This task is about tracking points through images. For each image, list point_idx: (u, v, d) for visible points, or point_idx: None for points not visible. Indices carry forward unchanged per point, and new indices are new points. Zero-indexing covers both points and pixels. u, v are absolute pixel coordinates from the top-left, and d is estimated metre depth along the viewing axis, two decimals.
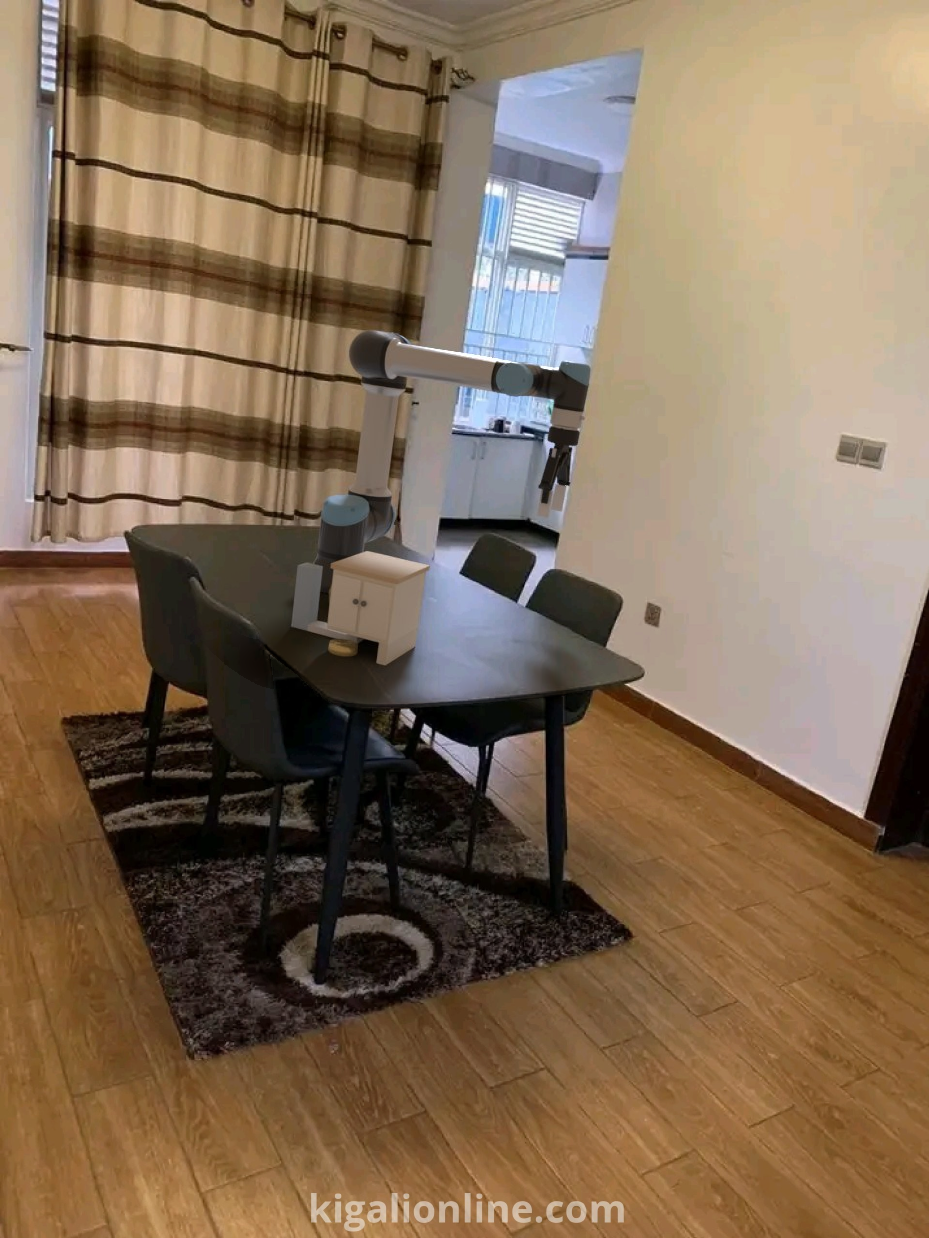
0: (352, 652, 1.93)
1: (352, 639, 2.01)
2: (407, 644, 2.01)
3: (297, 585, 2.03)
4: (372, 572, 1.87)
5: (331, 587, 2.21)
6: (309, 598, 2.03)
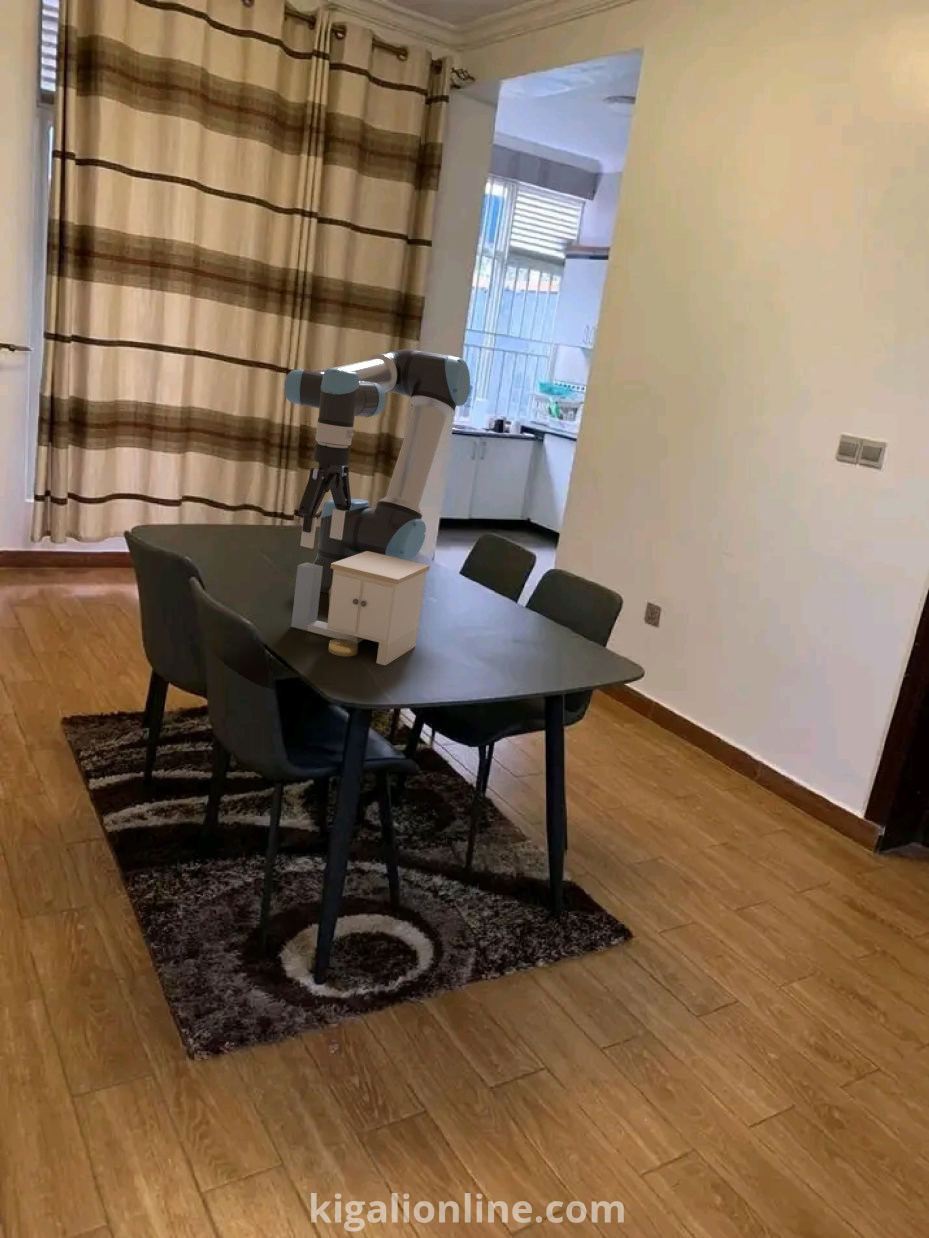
0: (352, 652, 1.93)
1: (352, 639, 2.01)
2: (407, 644, 2.01)
3: (297, 585, 2.03)
4: (372, 572, 1.87)
5: (331, 587, 2.21)
6: (309, 598, 2.03)
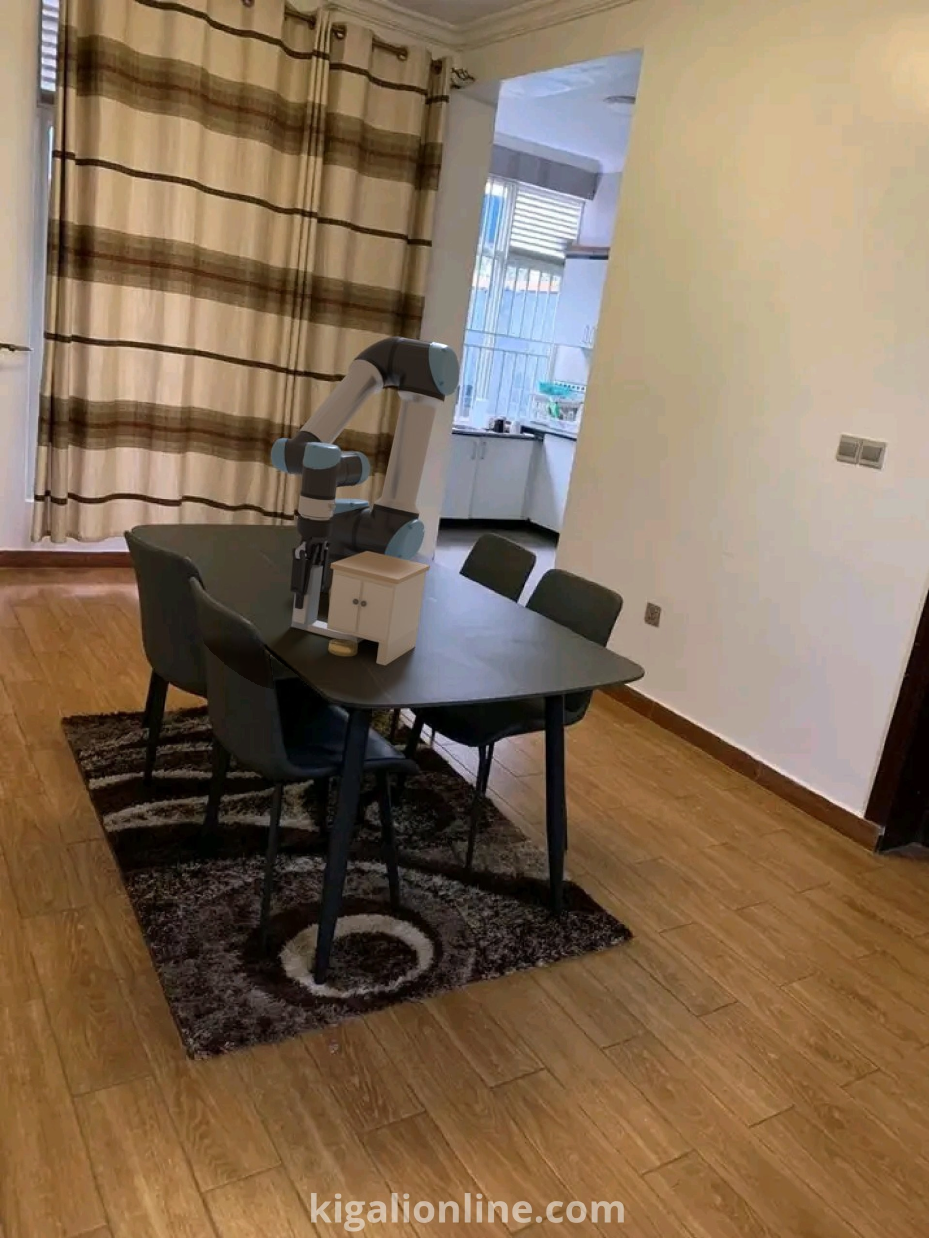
0: (352, 652, 1.93)
1: (352, 639, 2.01)
2: (407, 644, 2.01)
3: None
4: (372, 572, 1.87)
5: (331, 587, 2.21)
6: (309, 598, 2.03)
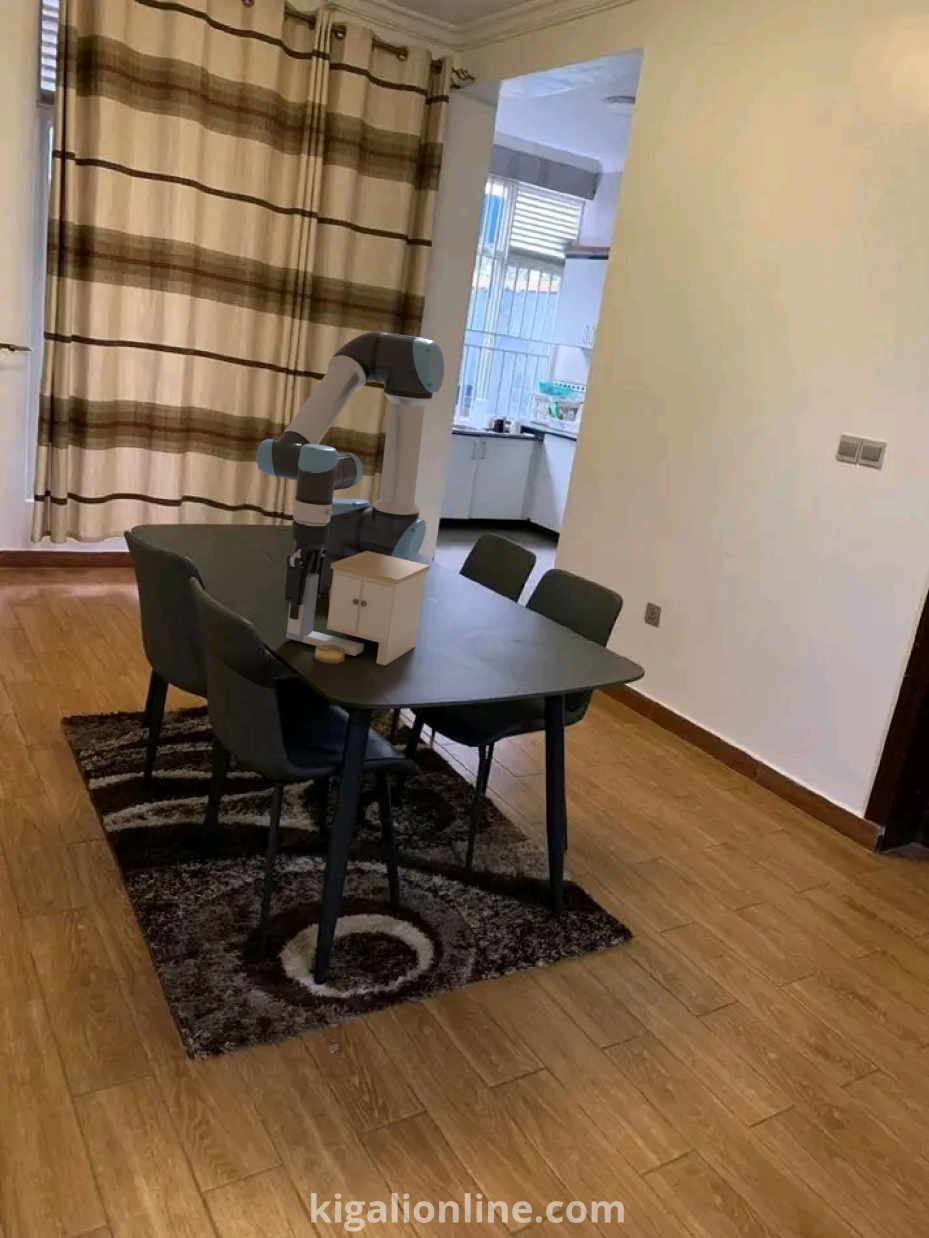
0: (339, 658, 1.88)
1: (350, 651, 1.91)
2: (407, 644, 2.01)
3: None
4: (372, 572, 1.87)
5: (331, 587, 2.21)
6: (305, 608, 1.93)
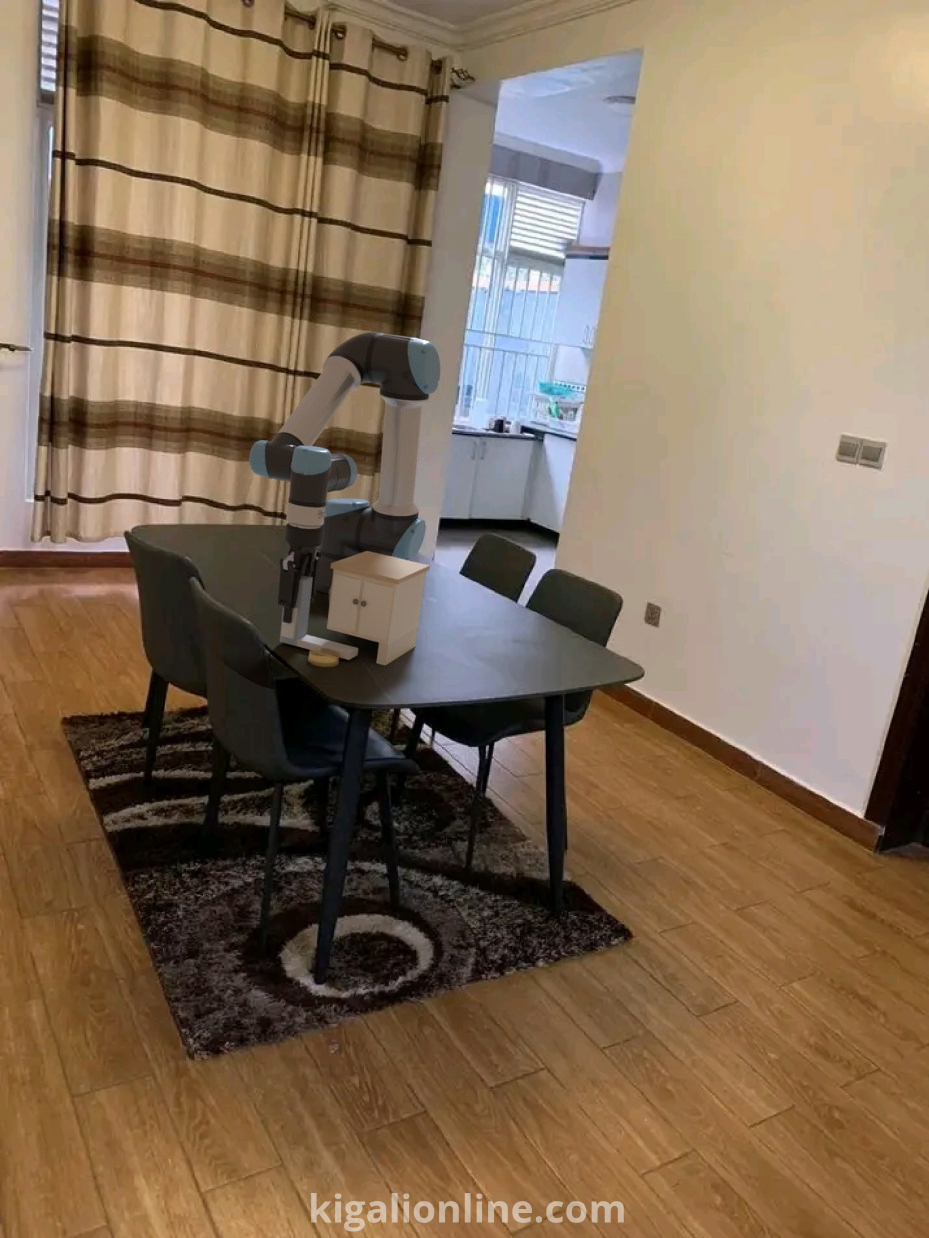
0: (333, 663, 1.85)
1: (344, 655, 1.89)
2: (407, 644, 2.01)
3: None
4: (372, 572, 1.87)
5: (331, 587, 2.21)
6: (298, 611, 1.90)
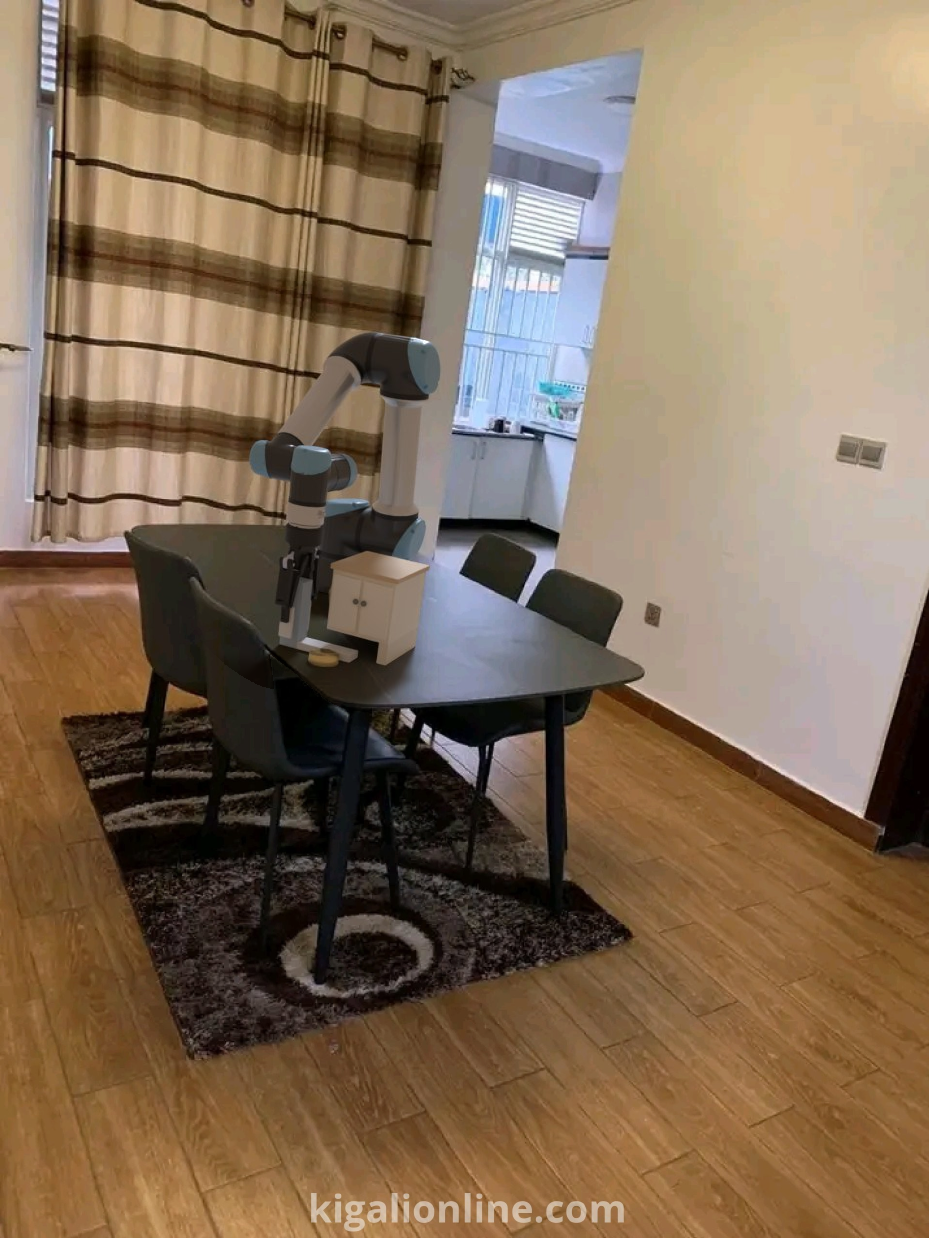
0: (333, 663, 1.85)
1: (344, 657, 1.89)
2: (407, 644, 2.01)
3: None
4: (372, 572, 1.87)
5: (331, 587, 2.21)
6: (298, 614, 1.90)
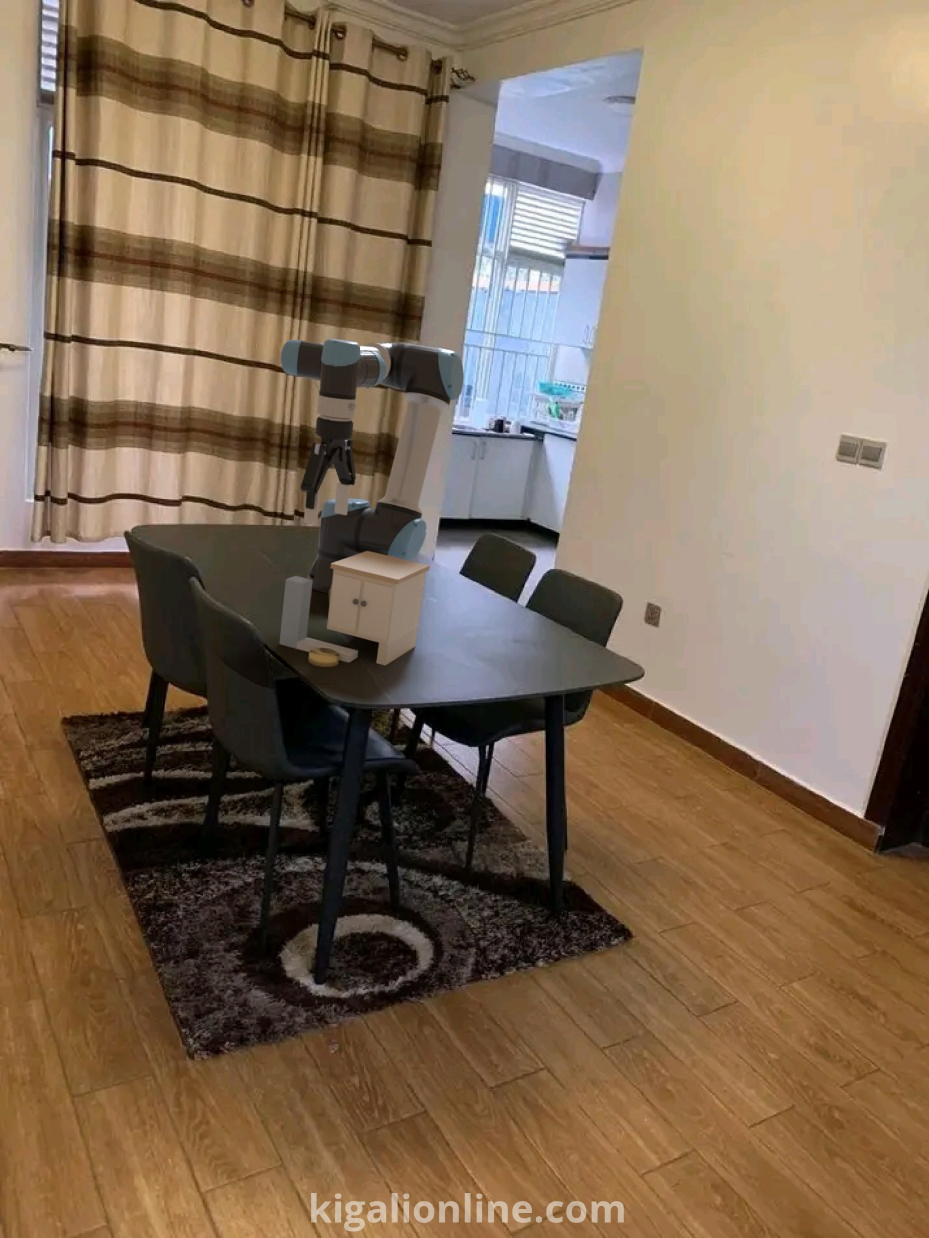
0: (333, 663, 1.86)
1: (344, 657, 1.89)
2: (407, 644, 2.01)
3: (285, 600, 1.91)
4: (372, 572, 1.87)
5: (331, 587, 2.21)
6: (298, 614, 1.90)
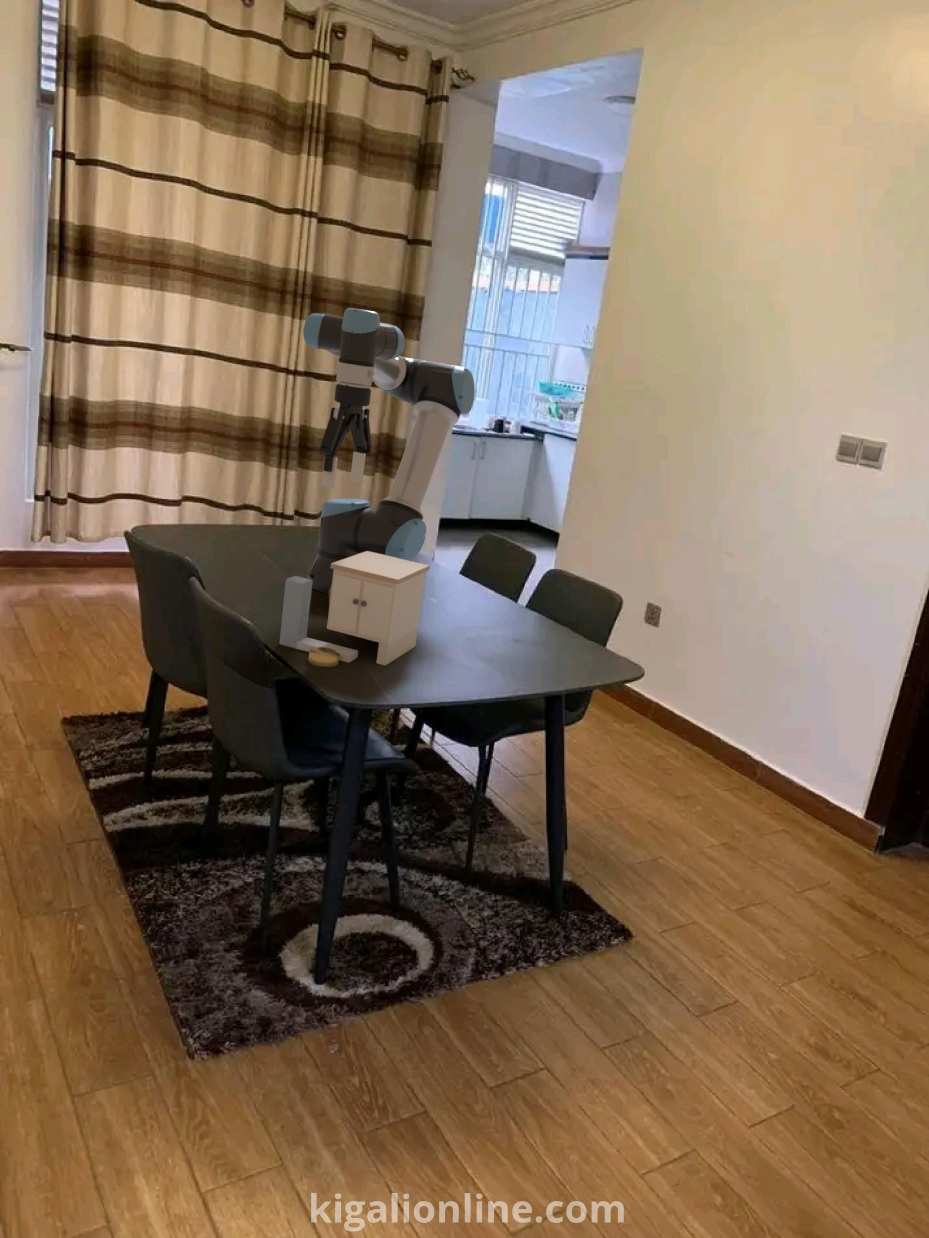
0: (335, 662, 1.86)
1: (344, 657, 1.89)
2: (407, 644, 2.01)
3: (285, 600, 1.91)
4: (372, 572, 1.87)
5: (331, 587, 2.21)
6: (298, 614, 1.90)
